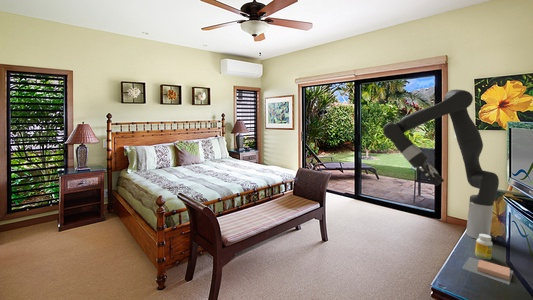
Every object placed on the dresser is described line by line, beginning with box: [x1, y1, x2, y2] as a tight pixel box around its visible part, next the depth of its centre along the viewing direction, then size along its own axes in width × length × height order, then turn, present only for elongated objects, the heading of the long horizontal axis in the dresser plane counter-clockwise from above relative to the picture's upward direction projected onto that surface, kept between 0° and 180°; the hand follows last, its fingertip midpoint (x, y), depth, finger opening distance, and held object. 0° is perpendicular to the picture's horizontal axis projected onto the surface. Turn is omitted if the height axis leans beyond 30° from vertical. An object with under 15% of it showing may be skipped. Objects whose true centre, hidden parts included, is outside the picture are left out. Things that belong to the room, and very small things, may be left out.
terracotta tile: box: [477, 259, 511, 280], centre depth 100 cm, size 2×7×9 cm
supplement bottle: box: [474, 234, 493, 260], centre depth 112 cm, size 5×5×10 cm
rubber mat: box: [461, 256, 514, 286], centre depth 102 cm, size 13×14×1 cm
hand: (440, 183), depth 121 cm, fingers open, 8 cm apart
